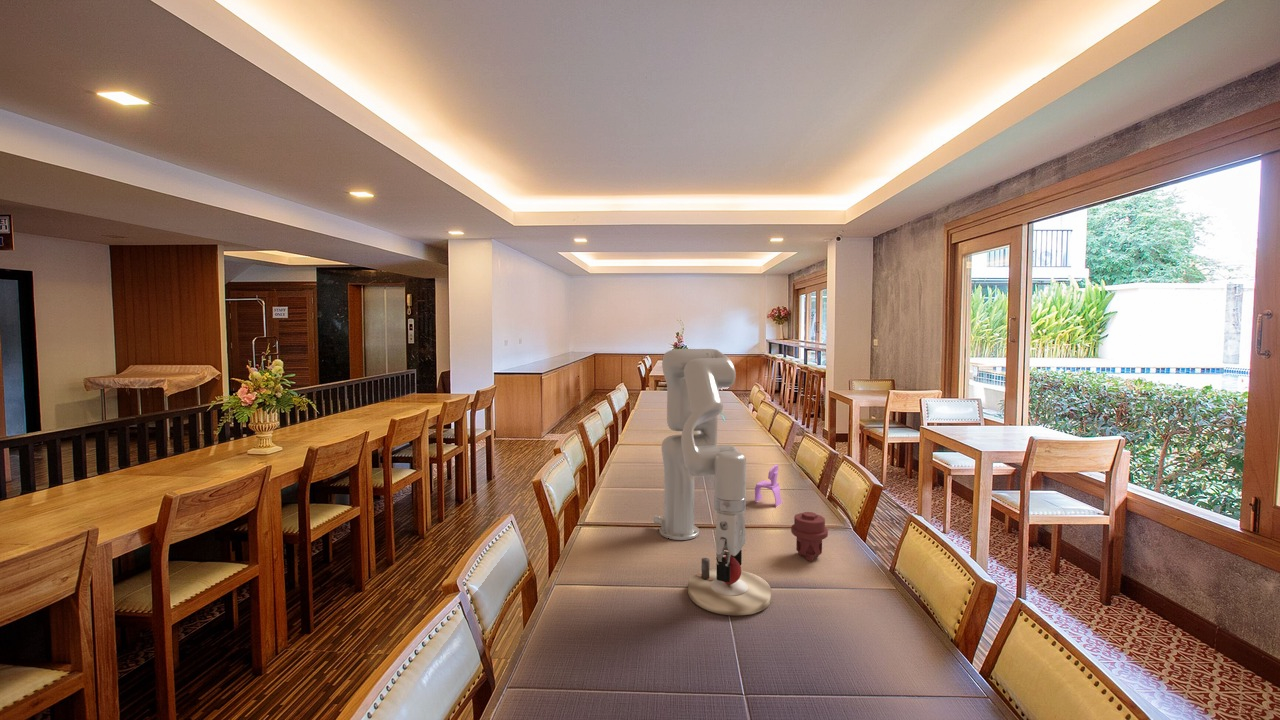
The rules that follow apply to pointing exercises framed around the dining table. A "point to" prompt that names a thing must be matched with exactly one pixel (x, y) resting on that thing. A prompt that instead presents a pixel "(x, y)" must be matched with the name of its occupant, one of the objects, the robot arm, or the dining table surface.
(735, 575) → the onion
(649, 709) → the dining table surface
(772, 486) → the toy chair
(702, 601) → the turntable
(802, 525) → the mechanical component
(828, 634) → the dining table surface
